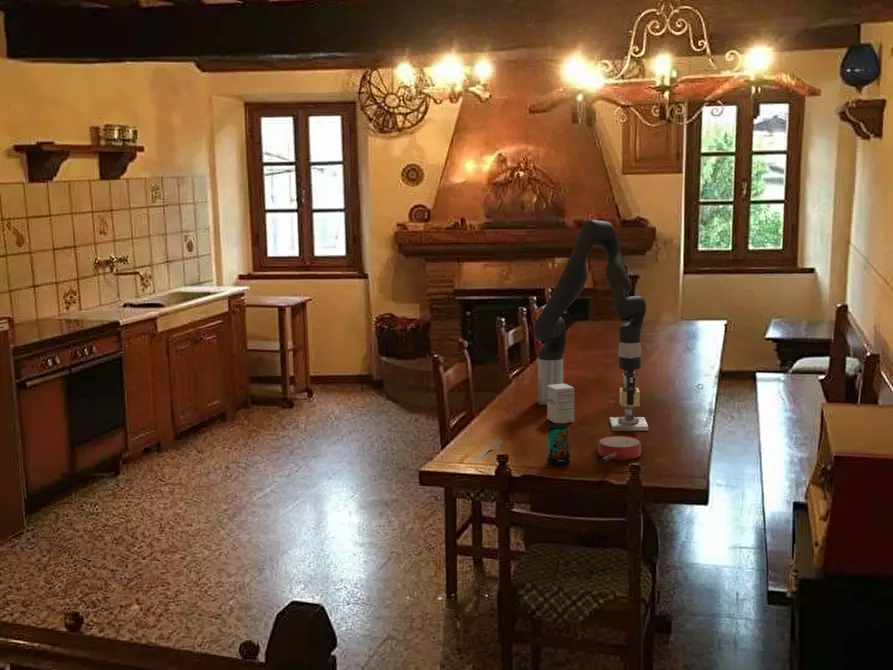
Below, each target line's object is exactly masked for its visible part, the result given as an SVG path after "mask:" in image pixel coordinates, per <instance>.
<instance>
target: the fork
mask: <svg viewBox="0 0 893 670" xmlns="http://www.w3.org/2000/svg"><path fill="white" fill-rule="evenodd" d="M503 441H504V440H501V439H500V440H499V439H495V441H493V443H492V444H491V445H490V446H489V448H488V449H486V450H485V451H484V452H483V453H482V454H480V455H479V456H478V457H476V458H475V459H474V460H473V463H477V462H480V460H482V459H483V458H484V456H485V455H486V454H487V453H488V452H489V451H493V449H499V448H501V446H502V443H503ZM490 448H492V449H490Z"/></svg>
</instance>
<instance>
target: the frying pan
mask: <svg viewBox="0 0 893 670" xmlns="http://www.w3.org/2000/svg"><path fill="white" fill-rule="evenodd" d="M641 443H642V442H641V439H639V438H636V437H634V436H630V435H618V434H617V435H616V434H615V435H607V436H603V437H600V438H599V439H598V454H599V456H600V457H601V459H600V463H601V464H606V463H607V462H609V461H610V460H611V461H613V460H614V461H631V460H635V459H637V458H639V457H640V456H641V453H642V452H641V451H642V450H641V449H642V448H641V447H642V445H641Z"/></svg>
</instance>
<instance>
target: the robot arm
mask: <svg viewBox="0 0 893 670" xmlns="http://www.w3.org/2000/svg"><path fill="white" fill-rule="evenodd" d="M615 229H616V228H615V227H614V225H613V224H612V223H611V222H610V221H606V220H597V219H588V220H587V221H585V222H584V223H583V225H582V226H581V228H580V231H579V234H578V236H577V239H576V241H575V244H574V247H573V249H572V252H571V254H570V257H569V258H568V261H567V262H566V265H565V267H564V268H563V270H562V272H561V274H560V277H558V280H557V283H556V285H555V287H554V289H553V291H552V293H551V294H550V297H549V299H548V301H547V303H546V304H545V306H544V308H543V309H542V311H541V313H540V314H539V315H538V317H537V319H536V320H535V323H534V325H533V335H534V336H535V338H536V339H537V340H538V341H539V342H544V344H543V346H542V347H541V348H540V349H539V350H538V351H537V352H538V353H537V356H538V357H537V358H538V361H537V362H538V365H537V366H538V369H537V370H538V371H537V372H538V379H537V380H538V389H537V390H538V391H537V392H538V405H544V406H547V385H553V384H562V383H564V352H565V350H566V338H567V337H566V336H567V328H566V323H565V320H564V319H563V317H562V315H563V314H564V313H565V312H566V310H567V309H568V308H569V307H570V306H571V305H572V304H573V303H574V302H575V301H576V300H577V299H578V298H579V296H580V294H581V293H582V291H583V289H584V287H585V285H586V283H587V280H588V269H587V258H588V256H589V253H590V251H591V250H592V248H593V247H596V248H602V249H603V251H604V253H605V255H606V257H607V263H606V267H605V277H606V279H607V283H608V284H609V287H610V289H611V292H612V298H613V310H614V312H615V315H617V316H618V317H620V318H621V319H624V318H625V319H626V318H630V319H629V321H628V322H626V323H623V324H621V325H620V326H619V332H618V333H619V337H618V338H619V343H618V368H619V369H620V370H623V373H622V374H623V375H622V376H623V385H624V387H623V388H627V392H626V393H627V405H633V404H634V394H635V388H636V387H637V386H636V379H637V374H636V373H635V371H636V370H640V369H642V368H641V367H642V346H641V331H642V330H641V329H642V326H643V322H644V319H645V317H646V316H645V315H646V311H647V303H646V300H645V298H644V297H642V296H641V295H633V296H626V295H628V294H629V293H631V291H632V290H633V284H632V281H631V279H630V277H629V274H628V272H627V269H626V268H625V264H624V262H623V257H622V252H621V248H620V244H619V241H618V237H617V233H616V230H615ZM629 388H632V390H629Z"/></svg>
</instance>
